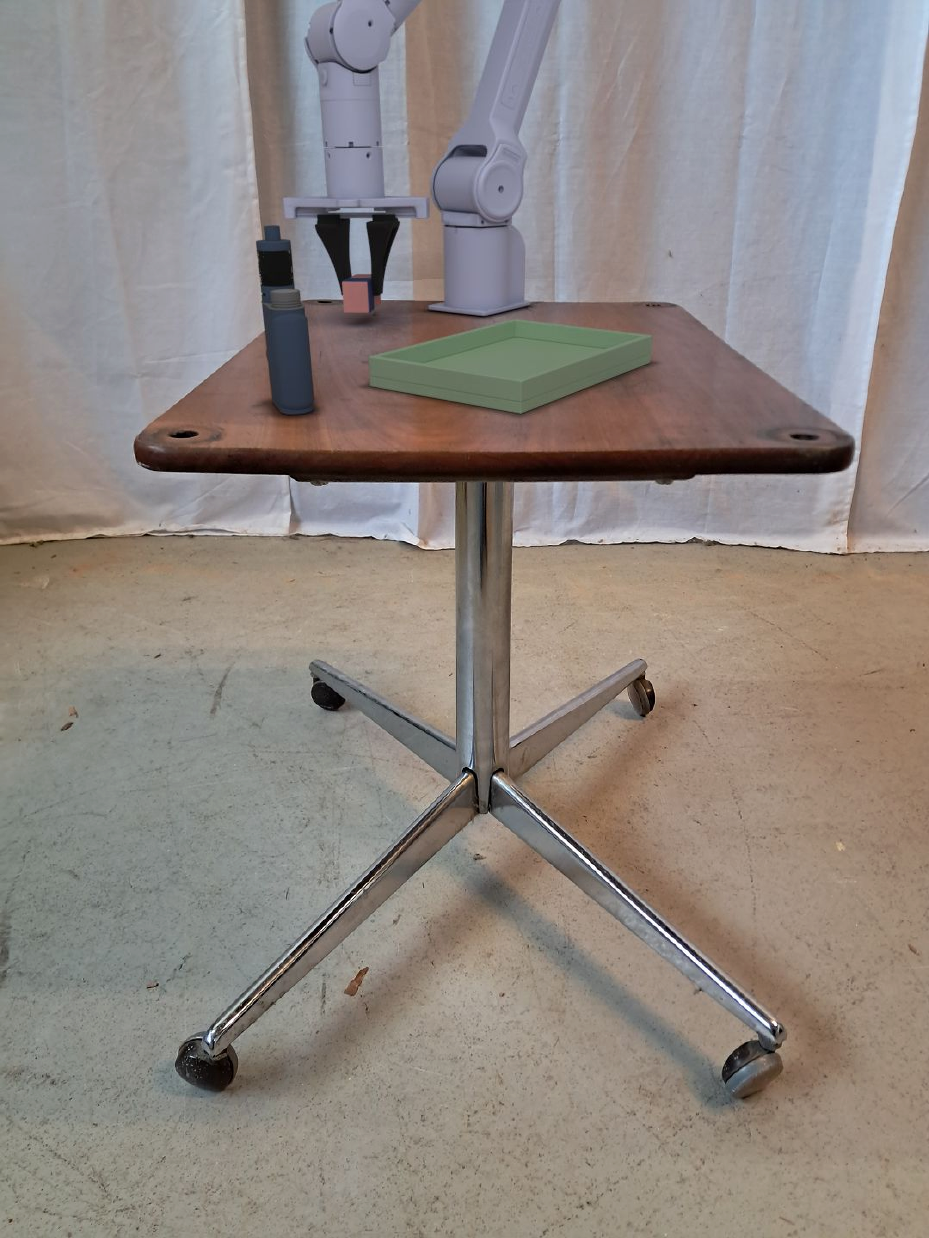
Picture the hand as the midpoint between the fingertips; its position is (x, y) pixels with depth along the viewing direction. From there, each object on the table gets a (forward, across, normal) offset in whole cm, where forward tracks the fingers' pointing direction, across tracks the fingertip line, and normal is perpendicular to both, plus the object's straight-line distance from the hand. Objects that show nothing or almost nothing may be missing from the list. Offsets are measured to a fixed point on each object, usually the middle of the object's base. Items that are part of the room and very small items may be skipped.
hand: (362, 294), depth 95 cm
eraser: (+1, 0, 0) cm, 1 cm away
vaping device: (+3, +3, -34) cm, 34 cm away
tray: (+3, +18, -22) cm, 29 cm away
